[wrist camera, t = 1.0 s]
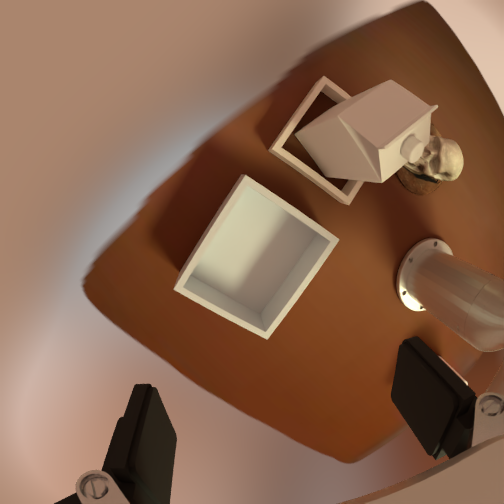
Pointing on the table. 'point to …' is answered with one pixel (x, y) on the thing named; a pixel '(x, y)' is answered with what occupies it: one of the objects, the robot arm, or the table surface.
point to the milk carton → (369, 134)
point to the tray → (341, 196)
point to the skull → (432, 165)
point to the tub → (254, 258)
